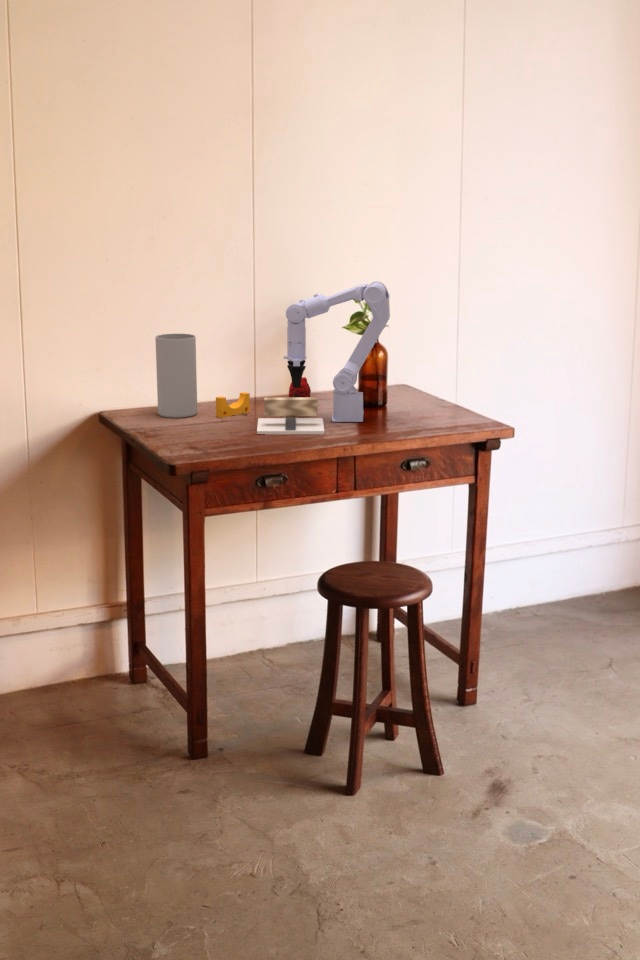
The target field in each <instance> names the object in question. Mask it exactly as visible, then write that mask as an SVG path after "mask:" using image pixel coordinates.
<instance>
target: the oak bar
mask: <svg viewBox="0 0 640 960" xmlns="http://www.w3.org/2000/svg"><path fill="white" fill-rule="evenodd" d="M263 401H264V402H263V408H264V413H263V415H264V417H286V416H296V417H318V405H319V404H318V403H319V402H318V397H313V396H311V397H289V396H288V397H287V396H286V397H285V396H284V397H263Z"/></svg>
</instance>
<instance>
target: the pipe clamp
mask: <svg viewBox="0 0 640 960" xmlns="http://www.w3.org/2000/svg"><path fill="white" fill-rule="evenodd" d="M250 396H251V393H249V392H245V391H243V392H239V397H238V399H237V401H234V402H232V403H231V404H228V402H227V397H224V396H217V397H215V417H216V416H217V417H216V418H219V417H221V418H220V419H223V417H225V418H228V417H227V416H230V417H233V416H232V415H235V416H238V415H237V414H240V415H243V414H242V413H245V414H248V413H247V412H250V413H251V399H250V398H251V397H250Z"/></svg>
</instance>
